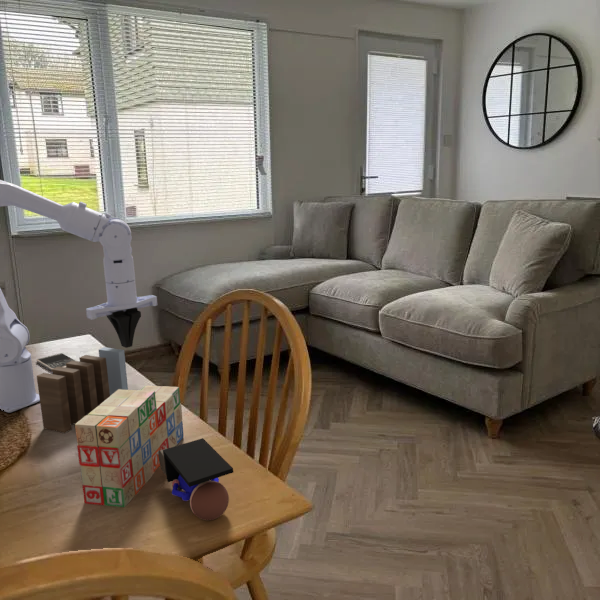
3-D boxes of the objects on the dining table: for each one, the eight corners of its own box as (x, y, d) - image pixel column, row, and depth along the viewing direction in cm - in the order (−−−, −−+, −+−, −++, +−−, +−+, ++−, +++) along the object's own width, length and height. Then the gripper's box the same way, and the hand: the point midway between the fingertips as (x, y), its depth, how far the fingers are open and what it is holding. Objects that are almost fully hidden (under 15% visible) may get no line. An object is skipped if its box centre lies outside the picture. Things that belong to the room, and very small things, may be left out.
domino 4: (105, 410, 113) (99, 360, 111) (85, 406, 115) (79, 357, 113) (111, 407, 115) (105, 357, 112) (91, 403, 117) (85, 354, 114)
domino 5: (123, 400, 118) (118, 352, 115) (103, 397, 120) (98, 349, 117) (128, 397, 119) (124, 349, 117) (109, 394, 121) (104, 347, 119)
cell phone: (54, 375, 134) (53, 369, 133) (35, 363, 141) (34, 358, 141) (80, 368, 138) (80, 362, 137) (61, 357, 146) (60, 351, 145)
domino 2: (79, 425, 107) (72, 372, 105) (58, 420, 109) (51, 369, 107) (85, 421, 109) (79, 369, 106) (64, 417, 111) (58, 366, 108)
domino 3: (92, 417, 110) (86, 366, 108) (72, 413, 112) (65, 363, 110) (98, 414, 112) (93, 363, 109) (78, 410, 114) (72, 360, 111)
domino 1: (64, 433, 104) (58, 379, 102) (43, 428, 106) (36, 375, 104) (71, 429, 106) (65, 376, 103) (50, 424, 108) (43, 372, 105)
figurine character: (157, 491, 88) (193, 534, 75) (151, 441, 87) (186, 476, 74) (200, 478, 92) (242, 517, 78) (195, 430, 90) (236, 461, 77)
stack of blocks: (150, 435, 103) (144, 367, 100) (184, 437, 102) (179, 369, 99) (83, 504, 83) (73, 423, 80) (125, 509, 81) (116, 426, 79)
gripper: (142, 272, 126) (147, 334, 129) (76, 284, 116) (83, 350, 119) (160, 276, 121) (165, 340, 124) (93, 289, 111) (100, 358, 114)
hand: (126, 346), depth 121 cm, fingers closed
